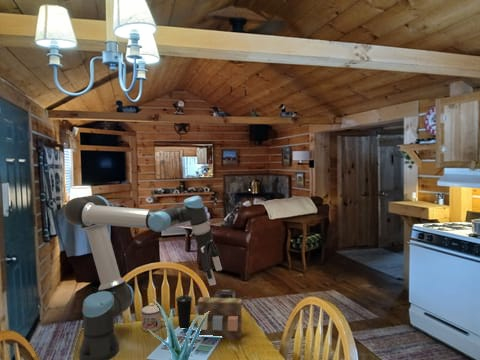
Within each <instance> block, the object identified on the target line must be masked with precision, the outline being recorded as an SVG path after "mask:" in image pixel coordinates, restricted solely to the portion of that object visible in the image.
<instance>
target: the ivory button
mask: <svg viewBox="0 0 480 360" xmlns="http://www.w3.org/2000/svg"><path fill="white" fill-rule="evenodd" d="M203 316H204V314H202V315H199V316H198V315H197V327H198V326H199V324H200V322H201V320H202V318H203ZM207 328H208V316H207V317H206V319H205V321H204V322H203V325H202V327H201V330H207Z"/></svg>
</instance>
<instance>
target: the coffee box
mask: <svg viewBox="0 0 480 360" xmlns="http://www.w3.org/2000/svg"><path fill="white" fill-rule="evenodd" d="M214 298H237V297H236V289H226V288H225V289H224V288H223V289H222V288H218V289H217V290H216V292H215V293H214Z"/></svg>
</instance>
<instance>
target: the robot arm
mask: <svg viewBox="0 0 480 360" xmlns="http://www.w3.org/2000/svg"><path fill="white" fill-rule="evenodd" d="M62 211H63V217H64V219H65V220H66V221H67V222H68V223H70V224H71V225H74V226H80V227H81V230H83V231H85V232H86V234H87V239H88V241H89V245H90V246H89V247H90V249H91V253H92V257H93V261H94V265H95V267H96V271H97V275H98V279H99V282H100V285H99V287H98V291H97V292H96V293H93V292H92V294H90V295H87V297H85V298H84V300H83V303H82V320H83V322H82V323H83V324H82V325H83V327H82V328H83V337H82V340H81V343H80V346H79V351H78V357H79V359H80V360H109V359H112V358H113V357H115V356H116V355H117V354H118V353H119V351H120V344H119V340H118V338H117V335H116V333H115V319H116V318H118V317H119V316H120V315H121V314H123V313H124V312H125V311H127V310H128V309H129V308H130V306H131V305H132V304H133V302H134V297H135V293H134V289H133V288H132V286H131V285H129V283H126V279H125V278H123V277H121V274H120V270H119V266H118V264H117V260H116V256H115V252H114V249H113V248H114V247H113V244H112V241H111V236H110V234H109V231H108V226H114V227H125V228H126V227H127V228H137V229H138V228H139V229H148V230H149V229H150V230H152V231H154V232H155V233H156V232H157V233H159V232H163V231H166V230H168V229H169V228H171V227H174V226H175V225H178V224H183V223H184V224H185V223H187V222H189V223H190V227H191V230H192V233H193V234H194V239H195V242H196V244H200V246H201V247H199V253H200V258H201V266H202V267H201V268H202V272H203V273H205V275H206V278H207V282H208V284H209V287H210V286H215V285H217V281H216V277H215V275H214V271H213V269H212V265H211V256H212V261H213V266H214V268H215V272H220V271H223V267H222V264H221V261H220V257H219V256H220V254H221V253H220V251H219V249H218V247H217V245H216V244H215V242H214V239H213V238H214V236H213V232H212V229H211V226H210V225H211V222H210V221H209V220H208V215H207V211H206V208H205V205H204V202H203V199H202V197H201V196H200V195H193V196H191V197H188V198H186V199H184V200H183V204H181V205H176V206H171V207H167V208H163V209H160V210H158V209H146V208H135V207H134V208H133V207H123V206H110V203H109V201H108V200H107V199H106V198H105V197H103V196H101V195H98V194H96V195H95V194H93V195H87V196H80V197H75V198H72V199H70V200H68V201H67V202H66V204H65V205H64V207H63V210H62Z"/></svg>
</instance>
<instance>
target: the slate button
mask: <svg viewBox="0 0 480 360" xmlns="http://www.w3.org/2000/svg"><path fill="white" fill-rule="evenodd" d="M222 329H223V315H217V316H213V330H222Z"/></svg>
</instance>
